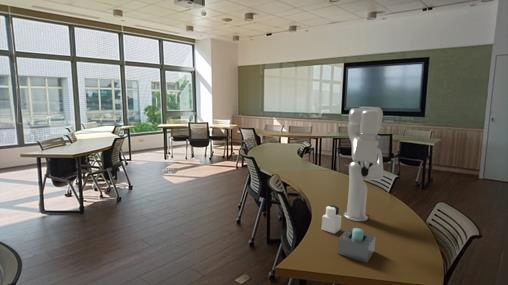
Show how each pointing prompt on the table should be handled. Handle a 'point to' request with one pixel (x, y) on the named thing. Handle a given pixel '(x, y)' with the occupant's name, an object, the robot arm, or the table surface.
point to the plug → (357, 234)
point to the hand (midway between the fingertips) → (364, 175)
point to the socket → (356, 246)
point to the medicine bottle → (331, 219)
